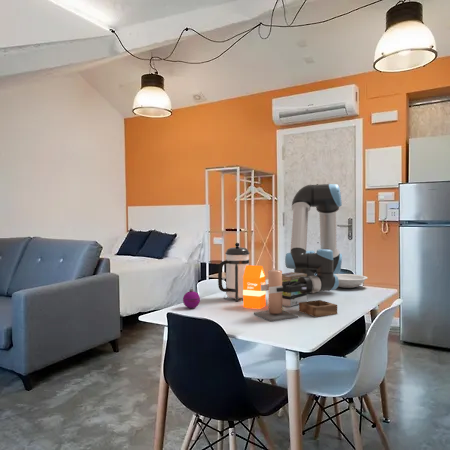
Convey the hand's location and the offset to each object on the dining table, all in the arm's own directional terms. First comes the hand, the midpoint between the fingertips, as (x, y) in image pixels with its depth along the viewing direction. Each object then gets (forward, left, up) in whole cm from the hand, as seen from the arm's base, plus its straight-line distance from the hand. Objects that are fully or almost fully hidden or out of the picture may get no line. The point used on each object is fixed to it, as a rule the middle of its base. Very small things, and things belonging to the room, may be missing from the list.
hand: (265, 289), depth 172 cm
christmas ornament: (-32, -22, -13) cm, 41 cm away
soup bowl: (-38, +81, -13) cm, 90 cm away
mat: (0, +5, -12) cm, 13 cm away
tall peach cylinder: (0, +5, -11) cm, 12 cm away
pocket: (+4, +25, -12) cm, 28 cm away
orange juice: (-20, +6, -13) cm, 24 cm away
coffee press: (-39, +6, -13) cm, 41 cm away
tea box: (-18, +26, -13) cm, 34 cm away
